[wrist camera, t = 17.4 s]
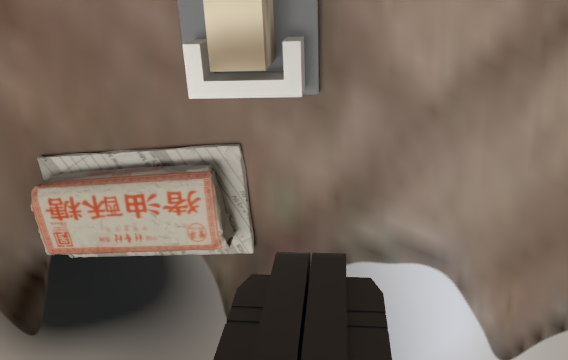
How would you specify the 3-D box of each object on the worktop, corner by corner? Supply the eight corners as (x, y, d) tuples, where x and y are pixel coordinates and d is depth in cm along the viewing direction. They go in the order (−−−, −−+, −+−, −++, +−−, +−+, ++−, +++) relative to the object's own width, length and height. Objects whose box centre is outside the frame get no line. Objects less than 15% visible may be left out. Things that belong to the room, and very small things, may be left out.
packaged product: (45, 279, 40) (7, 173, 37) (74, 250, 45) (43, 152, 41) (248, 275, 38) (230, 160, 34) (257, 244, 42) (243, 139, 38)
